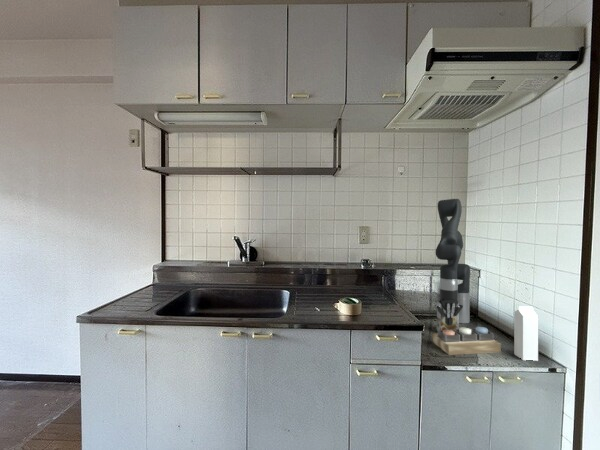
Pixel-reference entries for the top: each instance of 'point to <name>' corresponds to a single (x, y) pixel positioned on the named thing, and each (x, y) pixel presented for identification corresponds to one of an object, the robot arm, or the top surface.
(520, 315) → the milk
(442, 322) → the coffee box
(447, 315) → the robot arm
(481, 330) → the slate blue button
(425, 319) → the top surface
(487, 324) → the top surface
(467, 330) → the cream button
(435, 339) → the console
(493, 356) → the top surface
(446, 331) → the terracotta button
